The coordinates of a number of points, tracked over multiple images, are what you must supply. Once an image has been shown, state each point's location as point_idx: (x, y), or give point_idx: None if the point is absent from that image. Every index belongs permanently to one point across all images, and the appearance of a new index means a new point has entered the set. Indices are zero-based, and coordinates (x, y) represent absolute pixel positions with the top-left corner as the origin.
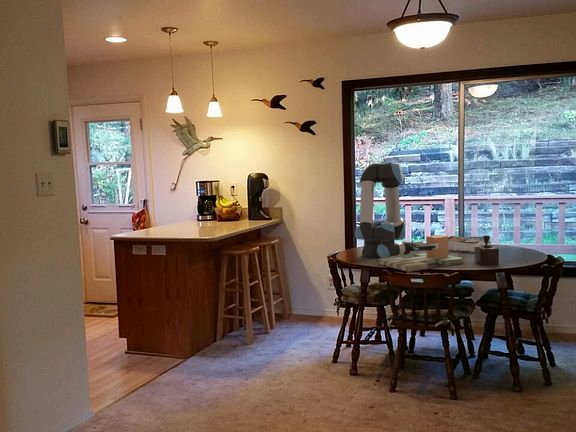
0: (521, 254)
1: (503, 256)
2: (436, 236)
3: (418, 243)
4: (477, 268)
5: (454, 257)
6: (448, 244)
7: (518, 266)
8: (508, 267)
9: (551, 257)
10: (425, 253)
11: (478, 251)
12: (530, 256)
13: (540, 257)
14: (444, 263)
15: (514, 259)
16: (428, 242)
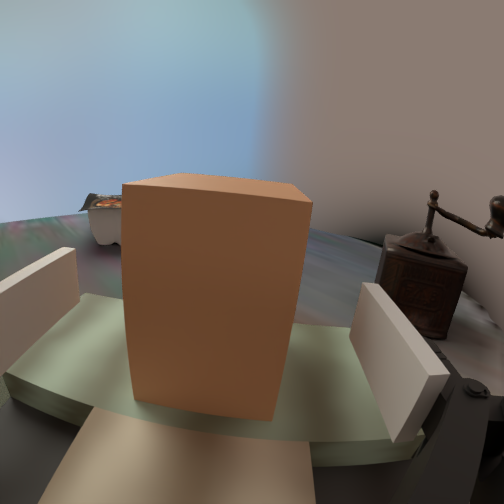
0: (313, 239)
1: (313, 255)
2: (226, 183)
3: (32, 302)
4: (500, 375)
5: (335, 341)
6: (102, 224)
7: (469, 301)
8: (483, 317)
9: (375, 243)
10: (71, 330)
11: (431, 276)
12: (346, 245)
13: (367, 246)
14: (411, 451)
15: (368, 265)
16: (160, 265)
